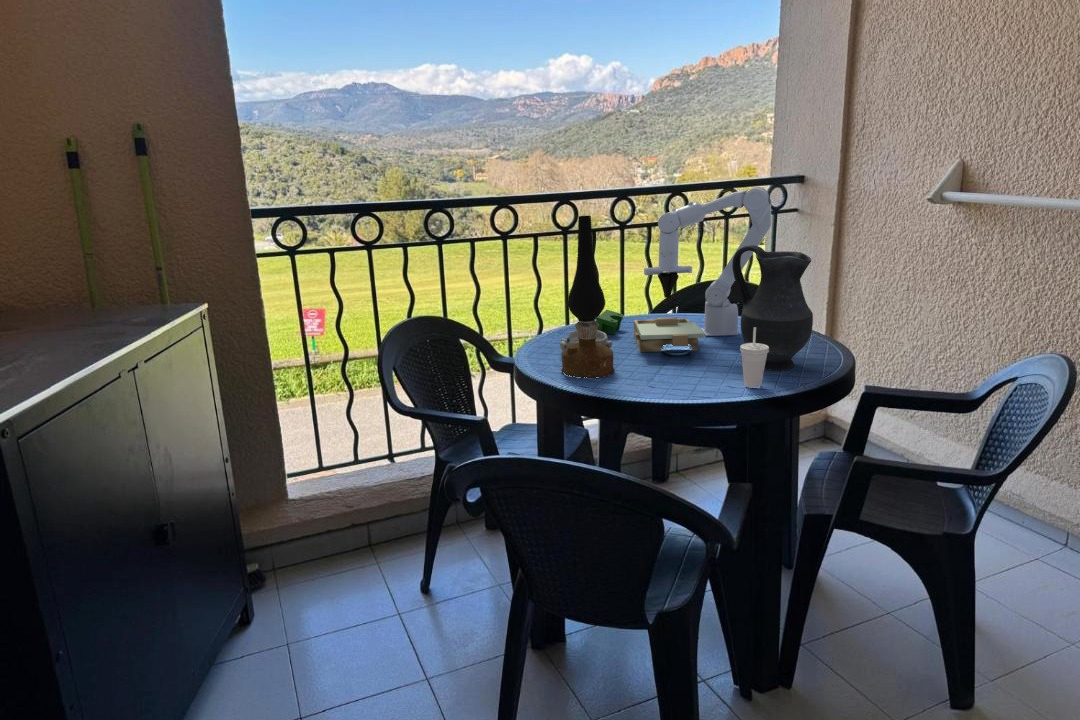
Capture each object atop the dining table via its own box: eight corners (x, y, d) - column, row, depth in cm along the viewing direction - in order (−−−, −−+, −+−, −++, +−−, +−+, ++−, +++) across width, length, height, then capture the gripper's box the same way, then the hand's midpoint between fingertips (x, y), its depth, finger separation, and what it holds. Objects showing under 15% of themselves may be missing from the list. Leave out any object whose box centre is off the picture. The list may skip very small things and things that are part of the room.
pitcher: (790, 380, 161) (800, 254, 152) (713, 364, 175) (717, 248, 166) (820, 362, 172) (830, 245, 164) (745, 349, 186) (751, 240, 178)
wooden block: (656, 336, 190) (656, 332, 190) (657, 339, 188) (657, 334, 187) (635, 337, 190) (635, 332, 190) (636, 339, 188) (636, 334, 188)
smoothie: (761, 381, 161) (764, 324, 157) (771, 390, 155) (774, 331, 151) (734, 382, 161) (737, 325, 157) (743, 391, 155) (746, 332, 150)
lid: (694, 331, 193) (695, 316, 191) (704, 345, 179) (704, 328, 178) (636, 333, 194) (636, 317, 192) (641, 346, 180) (641, 330, 179)
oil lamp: (618, 378, 178) (643, 225, 171) (603, 386, 164) (629, 220, 157) (569, 367, 183) (592, 218, 176) (550, 375, 169) (573, 213, 162)
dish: (560, 359, 185) (559, 342, 183) (560, 346, 198) (559, 329, 197) (613, 358, 184) (613, 340, 183) (609, 344, 197) (609, 328, 196)
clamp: (610, 348, 209) (613, 326, 202) (592, 343, 210) (594, 320, 204) (622, 325, 217) (626, 303, 210) (605, 320, 218) (608, 298, 212)
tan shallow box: (687, 334, 204) (687, 318, 202) (697, 350, 188) (698, 332, 186) (633, 336, 205) (634, 320, 203) (639, 351, 188) (639, 334, 187)
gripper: (649, 255, 198) (648, 301, 202) (696, 253, 200) (694, 298, 204) (642, 252, 205) (641, 296, 209) (688, 250, 207) (686, 294, 211)
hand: (667, 297), depth 207 cm, fingers closed
